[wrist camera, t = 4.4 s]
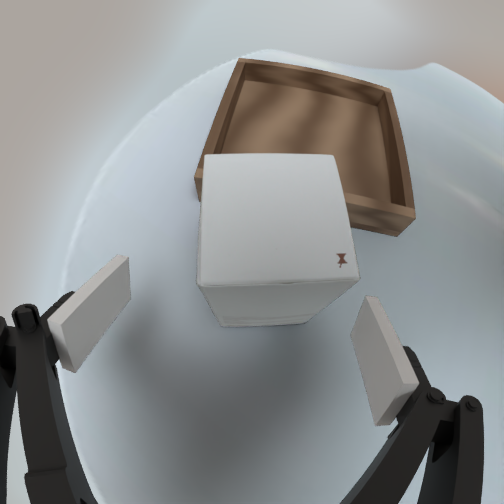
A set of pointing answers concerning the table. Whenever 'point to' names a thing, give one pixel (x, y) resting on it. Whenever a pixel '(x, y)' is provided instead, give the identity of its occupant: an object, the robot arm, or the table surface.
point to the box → (320, 134)
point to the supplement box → (273, 238)
